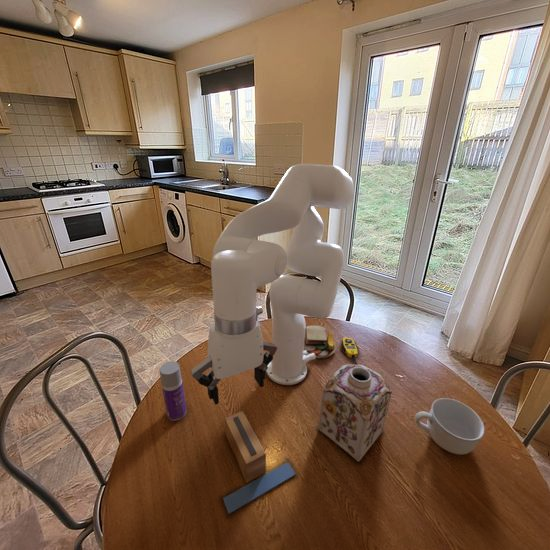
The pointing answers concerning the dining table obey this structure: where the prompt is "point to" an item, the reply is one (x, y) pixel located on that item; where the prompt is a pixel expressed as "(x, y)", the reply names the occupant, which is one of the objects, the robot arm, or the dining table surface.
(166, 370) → the container
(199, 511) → the dining table surface
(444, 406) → the teacup
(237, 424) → the token holder
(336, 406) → the decorative jar
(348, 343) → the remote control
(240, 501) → the strip
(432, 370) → the dining table surface
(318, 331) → the toy sandwich meal
